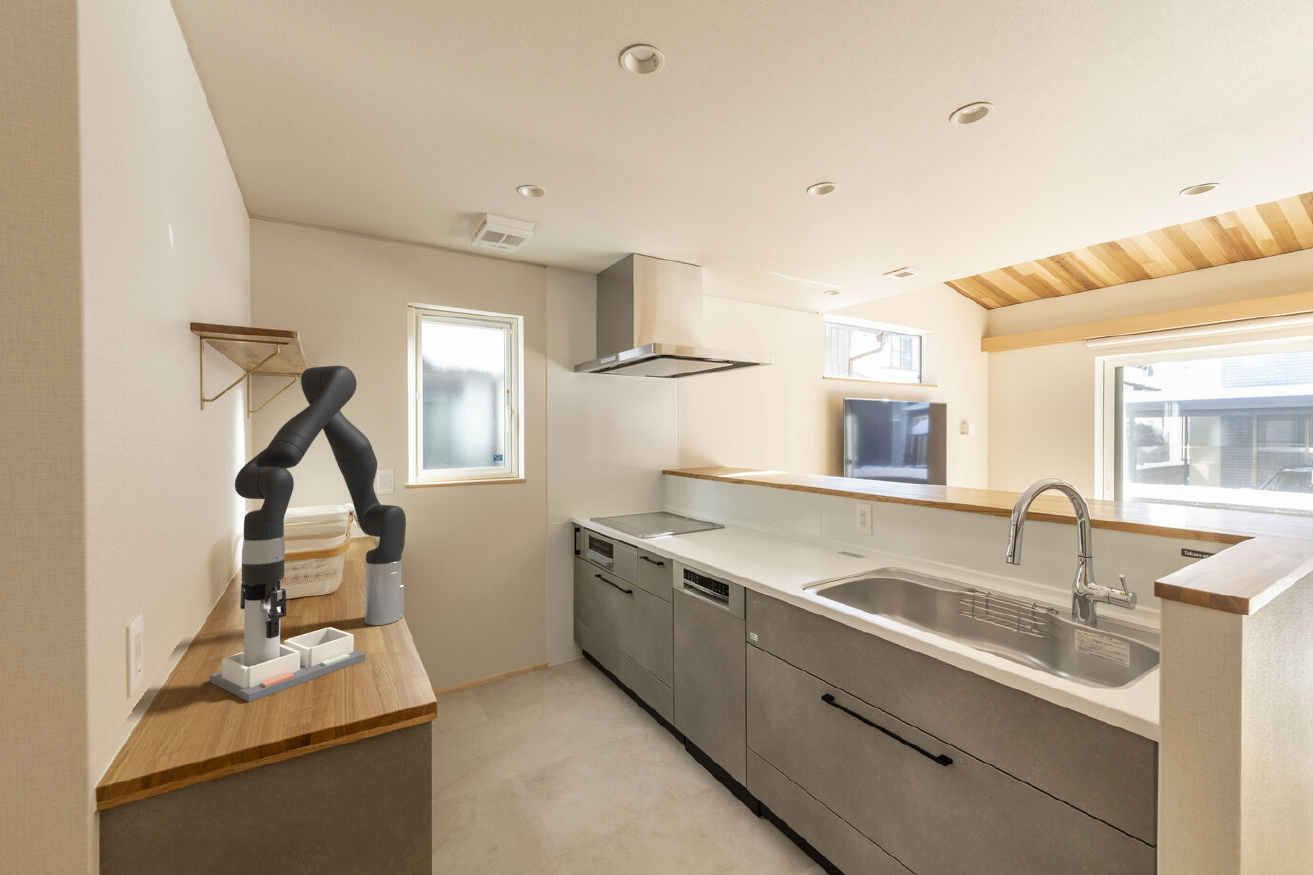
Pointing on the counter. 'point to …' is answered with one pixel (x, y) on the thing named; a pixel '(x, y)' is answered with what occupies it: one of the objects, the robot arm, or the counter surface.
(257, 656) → the travel mug
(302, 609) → the counter surface
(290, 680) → the holder board
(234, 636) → the counter surface
